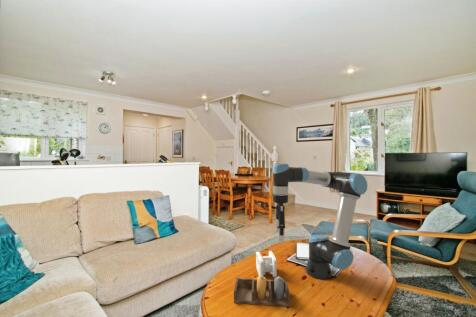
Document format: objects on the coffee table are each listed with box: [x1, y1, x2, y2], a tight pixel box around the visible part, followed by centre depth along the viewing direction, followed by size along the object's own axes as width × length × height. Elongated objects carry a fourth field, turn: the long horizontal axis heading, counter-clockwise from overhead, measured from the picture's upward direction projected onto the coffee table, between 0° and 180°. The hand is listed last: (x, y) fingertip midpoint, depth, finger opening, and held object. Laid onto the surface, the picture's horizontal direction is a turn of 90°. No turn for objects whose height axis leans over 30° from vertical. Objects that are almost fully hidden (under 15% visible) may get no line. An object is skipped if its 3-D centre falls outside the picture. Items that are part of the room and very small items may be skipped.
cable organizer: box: [255, 250, 278, 278], centre depth 135 cm, size 15×11×12 cm
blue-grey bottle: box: [273, 276, 285, 301], centre depth 110 cm, size 5×5×10 cm
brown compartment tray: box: [233, 277, 291, 308], centre depth 112 cm, size 27×12×6 cm, turn 85°
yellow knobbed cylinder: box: [256, 275, 267, 299], centre depth 110 cm, size 5×5×10 cm
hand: (279, 236), depth 110 cm, fingers open, 13 cm apart
